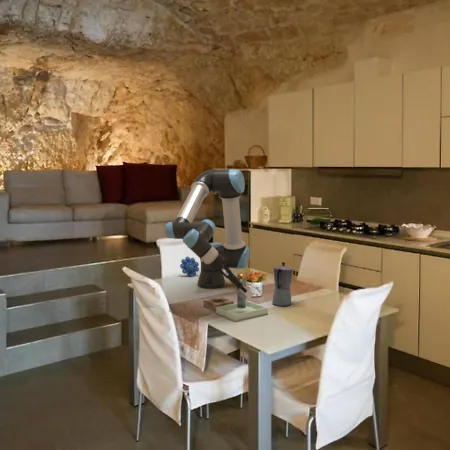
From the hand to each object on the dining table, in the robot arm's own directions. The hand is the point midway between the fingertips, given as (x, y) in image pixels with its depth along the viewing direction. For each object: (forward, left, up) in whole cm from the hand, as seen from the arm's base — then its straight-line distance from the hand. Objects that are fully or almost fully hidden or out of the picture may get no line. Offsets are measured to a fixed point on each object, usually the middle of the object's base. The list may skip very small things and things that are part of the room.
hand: (250, 295), depth 218 cm
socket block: (+5, -17, -9) cm, 20 cm away
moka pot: (-22, -3, -9) cm, 24 cm away
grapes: (-18, -78, -9) cm, 81 cm away
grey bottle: (+3, -2, -5) cm, 7 cm away
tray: (+3, -2, -9) cm, 9 cm away
